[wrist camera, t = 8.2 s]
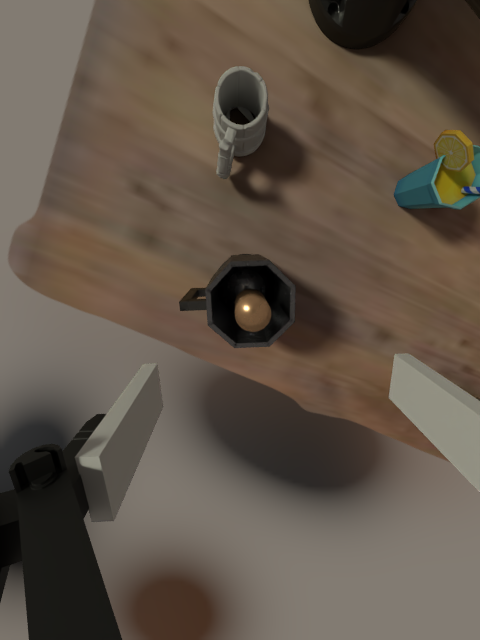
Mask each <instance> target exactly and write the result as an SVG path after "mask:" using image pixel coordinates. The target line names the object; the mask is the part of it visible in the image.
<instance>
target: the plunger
mask: <svg viewBox="0 0 480 640" xmlns="http://www.w3.org/2000/svg"><path fill="white" fill-rule="evenodd" d="M264 294H265V283H264V280H263V278H262V277H261V276H260V275H259V274H258V273H257V272H256V271H253V270H250V269H243V270H239V271H237V272H236V273H234V274H233V275H232V276H231V278H230V280H229V282H228V295H229V297H230V299H231V300H232V301H233V302H234V303H235V319H236V322H237V323H238V325H239V326H240V327H241V328H242V329H244V330H246V331H250V332H255V331H259V330H261V329H263V328H265V327H266V326H267V325H268V323H269V321H270V319H271V309H270V306H269V305H268V303H267V301H266V299H265V297H264Z"/></svg>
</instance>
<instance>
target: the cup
mask: <svg viewBox="0 0 480 640" xmlns="http://www.w3.org/2000/svg"><path fill="white" fill-rule="evenodd" d="M434 149H435V154H436V160H434V161H432V162H431V163H429V164H427V165H425V166H423V167H421V168H419V169H418V170H416V171H414V172H412V173H410V174H409V175H407V176H406V177H404V178H402V179H401V180H399V181H398V183H397V186H396V189H395V192H394V197H395V199H396V201H397V203H398V206H401V207H405V208H409V209H417V208H447V207H448V208H452V209H462V208H464V207H465V206H467V205H469V204H470V203H472V202H473V201H475V200H477V199H478V198H480V147H479V146H475V145H473V143H472V142H471V141H470V140H469V139H468V138H467V137H466V136H465V135H464V134H463V133H462V132H461V131H460V130H445V131H444V132H442V133H441V134H440V136H439V137H438V139H437V140H436V141H435V143H434Z"/></svg>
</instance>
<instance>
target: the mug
mask: <svg viewBox="0 0 480 640" xmlns="http://www.w3.org/2000/svg"><path fill="white" fill-rule="evenodd" d="M234 108H238V109H239V110H240V111H241V112H242V113H243V115H244V116H245V117H246V118H247V119H248V120H249V121H250V123H248V124H245V125H239V124H235V123H233V122H231V121H230V110H232V109H234ZM250 111H251V112H252V113H253V115H254V116H255V117H256V119H255V120H254V118H253V116H252V114H251V112H250ZM268 111H269V105H268V94H267V88H266V85H265V82H264V80H263V79H262V77H261V76H260V75H259V74H258V73H254V72H253V71H252V69H250V68H247V67H244V66H239V69H238V66H236V67H233V68H231V69H229V70H227V71H226V72H225V73H224V74H223V75H222V76H221V78H220V79H219V82H218V87H216V89H215V99H214V104H213V118H214V126H213V129H214V132H215V136H216V139H217V141H218V143H219V148H220V152H219V153H218V162H217V166H218V167H217V175H218V176H219V177H220V178H223V179H227V178H228V177H229V175H230V172H231V168H232V161H233V158H234V156H238V157H241V156H246V155H249V154H251V153H253V152H254V151H255V150H256V149H257V148H258V147H259V146H260V145H261V143H262V141H263V139H264V136H265V131H266V121H267V117H268ZM226 113H227V114H226ZM225 115H226V117H225Z"/></svg>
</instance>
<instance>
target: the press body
mask: <svg viewBox="0 0 480 640" xmlns="http://www.w3.org/2000/svg"><path fill="white" fill-rule="evenodd" d="M243 269H250V270H253V271H256V272H257V273H258V274H259V275H260V276H261V277H262V278H263V280H264V283H265V294H264V297H265V299H266V301H267V303H268V305H269V306H270V309H271V319H270V321H269V323H268V325H267V326H266V327H265V328H263V329H261V330H259V331H255V332H250V331H246V330H244V329H242V328H241V327H240V326H239V325H238V323H237V322H236V319H235V303H234V302H233V301H232V300H231V299H230V297H229V295H228V282H229V280H230V278H231V276H232V275H233V274H234V273H236V272H237V271H239V270H243ZM202 296H206V299H197V298H198V297H202ZM179 304H180V311H189V310H207V320H208V326H209V327H210V328H212V329H213V330H214V331H215V332H216V333H217V334H219V335H220V336H221V337H222V338H223V339H224V340H226V341H227V342H228V343H229V344H230V345H231V346H233V347H234V348H246V347H270V346H271V345H272V344H273V343H274V342H275V341H276V340H277V339H278V338H279V337H280V336H281V335H282V334H283V333H284V332H285V331H286V330H287V329H288V328H289V327H290V326H291V325H292V324H293V323H294V322H295V285H294V284H293V283H292V282H291V281H290V280H289V279H288V278H287V277H286V276H285V275H284V274H283V273H282V272H281V271H280V270H279V269H278V268H277V267H276V266H275V265H274V264H272V263H271V262H270V261H269V260H268V259H266V258H264V257H263V256H261V255H259V254H255V255H251V254H240V255H231V257H230V258H229V259H228V260H227V261H226V262H224V263H223V264H222V266H221V267H220V268H219V270H218V271H217V272H216V273H215V274H214V276H213V277H212V279H211V281H210V282H209V284H208V286H207V287H206V288H191V289H190V290H189V291H188V293H187V294H186V295H185V296H184V297H183V298H182V299H181V300H180V302H179Z"/></svg>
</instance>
